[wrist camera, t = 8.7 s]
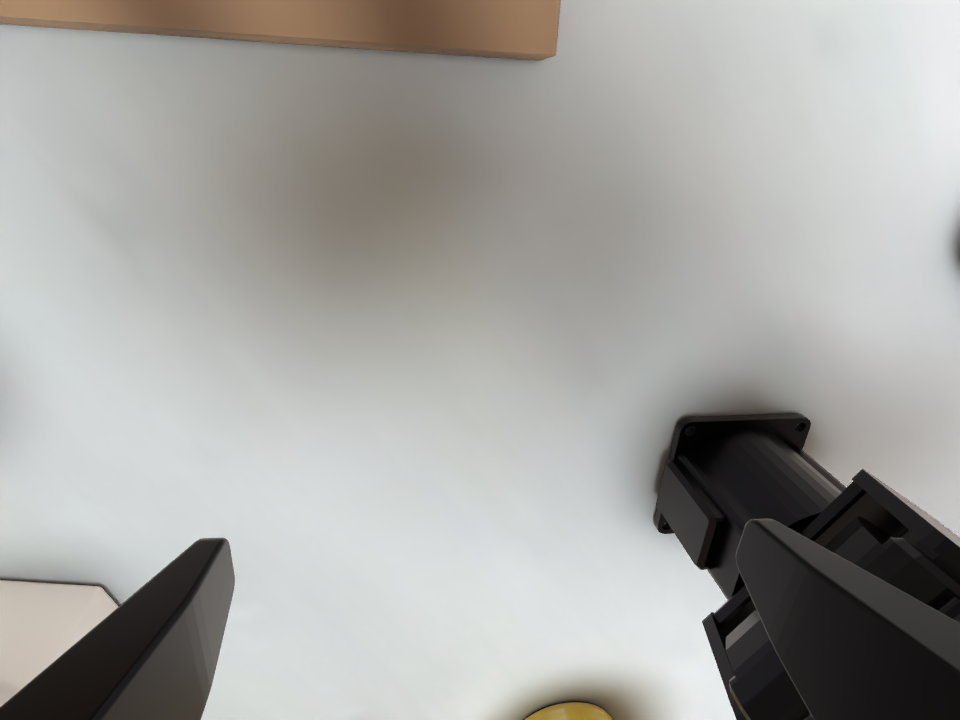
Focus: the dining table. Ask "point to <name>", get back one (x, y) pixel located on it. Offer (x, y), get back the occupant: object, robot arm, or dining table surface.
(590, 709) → the plant pot
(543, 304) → the dining table surface
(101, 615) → the jar
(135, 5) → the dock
